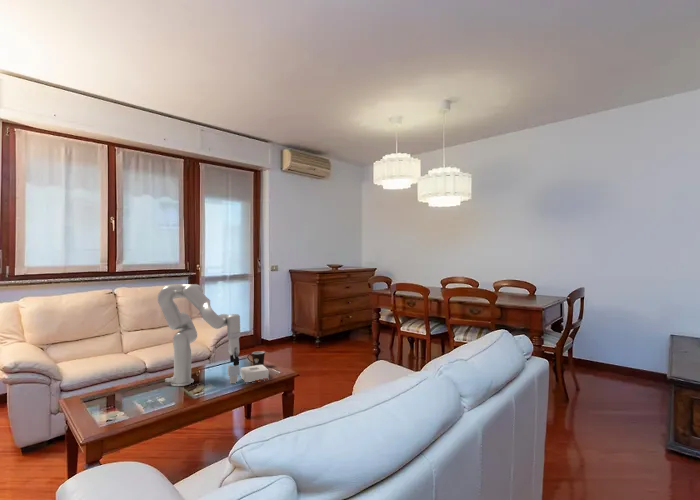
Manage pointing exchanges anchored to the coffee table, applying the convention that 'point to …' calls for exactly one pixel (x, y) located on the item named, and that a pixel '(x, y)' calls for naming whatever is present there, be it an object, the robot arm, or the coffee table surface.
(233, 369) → the plug
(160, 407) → the coffee table surface
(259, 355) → the coffee mug
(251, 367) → the socket
